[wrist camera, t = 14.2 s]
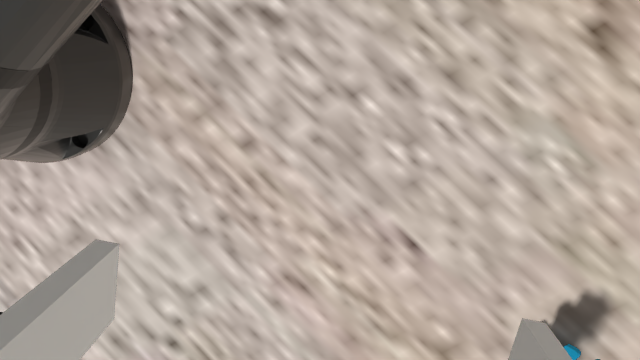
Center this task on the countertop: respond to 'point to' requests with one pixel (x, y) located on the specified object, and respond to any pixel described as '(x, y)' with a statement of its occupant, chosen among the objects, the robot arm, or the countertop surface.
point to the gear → (573, 352)
